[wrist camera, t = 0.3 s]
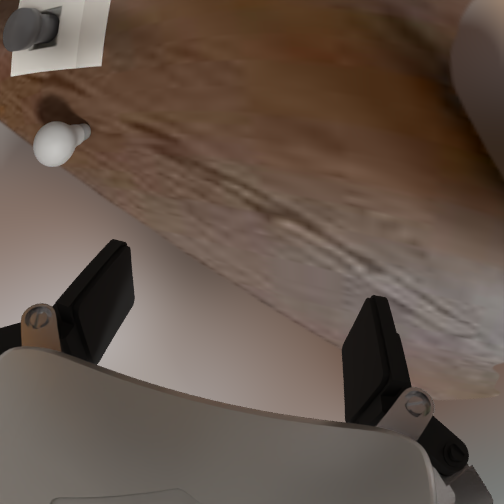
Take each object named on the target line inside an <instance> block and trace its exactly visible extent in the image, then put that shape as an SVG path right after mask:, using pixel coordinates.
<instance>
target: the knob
mask: <svg viewBox="0 0 504 504" xmlns="http://www.w3.org/2000/svg"><path fill="white" fill-rule="evenodd" d="M59 23H60V21H59V18H58V17H57V16H56V15H54V14H41V13H40V11H39V10H38V9H36V8H19V9H17V10H16V11H14V12H13V13H12V15H11V16H10V17H9V19H8V20H7V22H6V25H5V28H4V32H3V43H4V46H5V48H6V49H7V50H8V51H11V52H13V51H21V50H26V49H28V48H30V47H31V46H32V45H33V44H38V43H48V42H50V41H52V40H53V39H54V38H55V37H56V35H57V33H58V30H59Z"/></svg>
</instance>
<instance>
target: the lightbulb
mask: <svg viewBox="0 0 504 504" xmlns="http://www.w3.org/2000/svg"><path fill="white" fill-rule="evenodd" d="M90 134H91V130H90V127H89V126H88V125H87V124H79V125H77V124H75V125H68V124H66V123H63V122H59V121H55V122H50V123H48V124H46V125H44V126H43V127H42V128H41V129H40V130H39V131H38V133H37V134H36V136H35V139H34V144H33V149H34V154H35V156H36V158H37V160H38V161H39V162H41V163H42V164H44V165H46V166H49V167H55V166H59V165H61V164H63V163H65V162H66V161H67V160H68V159H69V158H70V157H71V155H72V153H73V152H74V149H75V147H76V146H77V145H79V144H81V143H82V141H84V140H86V139H87V138H89V136H90Z"/></svg>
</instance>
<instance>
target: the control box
mask: <svg viewBox="0 0 504 504" xmlns="http://www.w3.org/2000/svg"><path fill="white" fill-rule="evenodd" d="M110 1H111V0H20V2H19V8H36V9H38V10H39V11H40V13H41V14H54V15H56V16H57V17H58V18H59V21H60V23H59V30H58V33H57V35H56V37H55V38H54V39H53V40H52V41H50V42H48V43H38V44H33V45H32V46H31V47H30V48H28V49H26V50H21V51H13V53H12V67H11V76H17V75H23V74H29V73H36V72H44V71H52V70H61V69H73V68H83V67H94V66H101V64H102V54H103V46H104V38H105V31H106V24H107V18H108V12H109V7H110ZM19 8H18V9H19Z"/></svg>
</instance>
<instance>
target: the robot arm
mask: <svg viewBox="0 0 504 504" xmlns="http://www.w3.org/2000/svg"><path fill="white" fill-rule="evenodd" d="M134 299H135V296H134V286H133V276H132V264H131V250H130V247H128V246H127V244H126V242H123V241H118V240H114V239H112V240H111V241H110V242H109V243H108V244H107V245H106V246H105V247H104V248H103V249H102V250H101V251H100V252H99V254H98V255H97V256H96V257H95V258H94V259H93V260H92V261H91V262H90V263H89V265H88V266H87V267H86V268H85V269H84V270H83V271H82V272H81V273H80V275H79V276H78V277H77V278H76V279H75V280H74V281H73V283H72V284H71V285H70V286H69V288H67V290H66V291H65V292H64V293H63V294H62V296H61V297H60V298H59V299H58V300H57V302H56V303H55V304H54V305H53V307H52V306H50V305H48V304H43V303H42V304H35V305H33V306H31V307H29V308H28V309H27V310H26V311H25V312H24V313H23V315H22V318H21V323H17V324H13V325H10V326H7V327H3V328H0V504H493V499H492V496H491V494H490V493H489V491H488V490H487V488H486V486H485V484H484V483H483V481H482V480H481V478H480V477H479V475H478V473H477V472H476V470H475V469H474V467H473V465H471V466H469V465H468V464H467V462H468V457H469V454H468V450H467V447H466V445H465V444H464V443H463V442H462V441H461V440H460V439H459V438H458V437H457V436H455V435H454V434H453V433H452V432H451V431H450V430H449V429H448V428H446V427H445V426H444V425H443V424H442V423H441V422H440V421H438V420H437V419H436V418H435V417H434V416H433V413H434V402H433V400H432V398H431V396H430V395H429V394H428V393H427V392H426V391H424V390H422V389H420V388H417V387H411V382H410V377H409V373H408V368H407V364H406V360H405V355H404V351H403V347H402V343H401V339H400V336H399V334H398V333H396V329H395V325H394V321H393V317H392V314H391V310H390V306H389V303H388V300H387V298H386V297H381V296H376V295H372V296H371V298H367V299H366V300H365V302H364V304H363V306H362V308H361V310H360V312H359V314H358V316H357V318H356V320H355V322H354V324H353V326H352V328H351V330H350V332H349V334H348V336H347V338H346V340H345V342H344V344H343V347H342V361H343V378H344V397H345V399H344V400H345V421H346V423H344V422H335V421H327V420H319V419H312V418H304V417H297V416H291V415H284V414H278V413H272V412H267V411H261V410H256V409H251V408H246V407H241V406H236V405H231V404H226V403H222V402H218V401H213V400H210V399H205V398H201V397H198V396H194V395H189V394H186V393H182V392H179V391H175V390H172V389H168V388H165V387H161V386H158V385H155V384H151V383H148V382H145V381H142V380H138V379H136V378H132V377H130V376H127V375H124V374H121V373H118V372H115V371H112V370H109V369H107V368H104V367H101V366H98V365H97V364H98V363H99V361H100V360H101V358H102V356H103V354H104V353H105V351H106V349H107V347H108V346H109V344H110V342H111V341H112V339H113V337H114V336H115V334H116V332H117V330H118V329H119V327H120V326H121V324H122V322H123V321H124V319H125V318H126V316H127V314H128V313H129V311H130V309H131V308H132V306H133V304H134Z"/></svg>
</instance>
